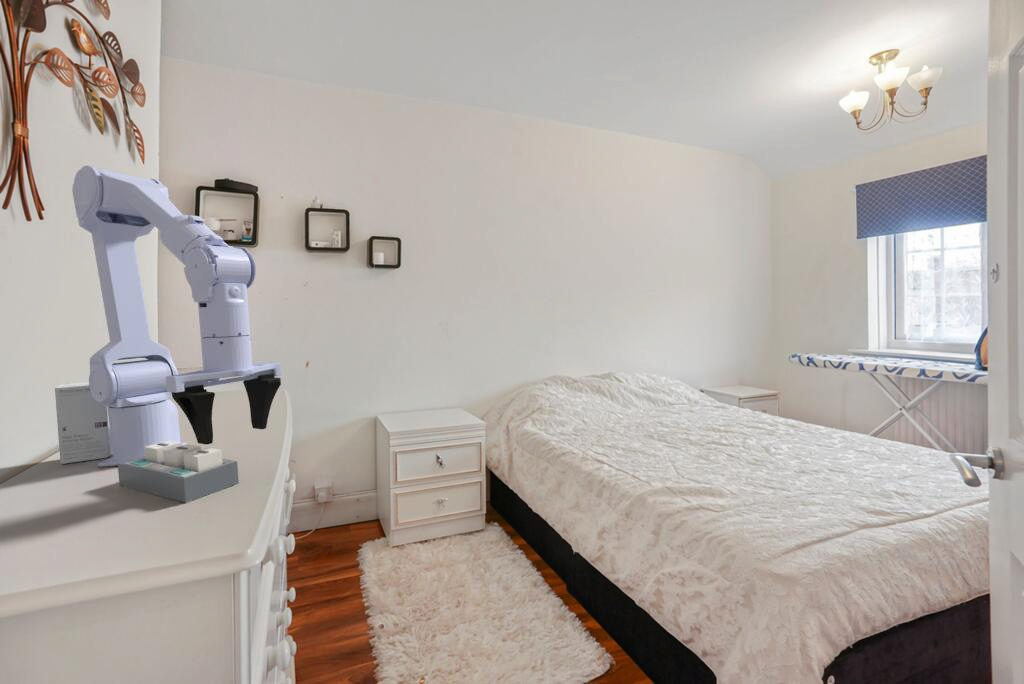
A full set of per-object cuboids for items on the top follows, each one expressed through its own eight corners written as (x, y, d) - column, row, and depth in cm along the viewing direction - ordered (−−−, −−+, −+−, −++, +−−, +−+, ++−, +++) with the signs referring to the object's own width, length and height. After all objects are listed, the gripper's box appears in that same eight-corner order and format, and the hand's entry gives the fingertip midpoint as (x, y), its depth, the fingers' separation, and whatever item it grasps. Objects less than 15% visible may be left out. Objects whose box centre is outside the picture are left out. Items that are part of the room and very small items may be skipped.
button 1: (145, 461, 63) (144, 446, 63) (169, 455, 66) (168, 440, 66) (158, 464, 62) (156, 448, 62) (182, 457, 64) (180, 442, 64)
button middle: (164, 466, 61) (163, 449, 61) (188, 458, 64) (187, 443, 64) (177, 468, 60) (176, 452, 60) (201, 461, 63) (200, 445, 62)
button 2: (184, 470, 59) (183, 453, 59) (208, 462, 62) (207, 446, 62) (198, 473, 58) (197, 456, 58) (222, 465, 61) (221, 449, 60)
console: (119, 485, 62) (117, 461, 62) (173, 468, 68) (171, 447, 68) (185, 503, 56) (183, 476, 55) (238, 483, 61) (237, 459, 61)
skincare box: (59, 465, 71) (51, 387, 70) (67, 458, 75) (59, 384, 74) (112, 457, 75) (104, 382, 74) (116, 450, 78) (109, 379, 77)
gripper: (186, 340, 54) (196, 454, 55) (292, 332, 67) (299, 424, 68) (152, 340, 57) (162, 448, 58) (260, 332, 70) (267, 420, 71)
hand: (233, 435), depth 63 cm, fingers open, 7 cm apart
